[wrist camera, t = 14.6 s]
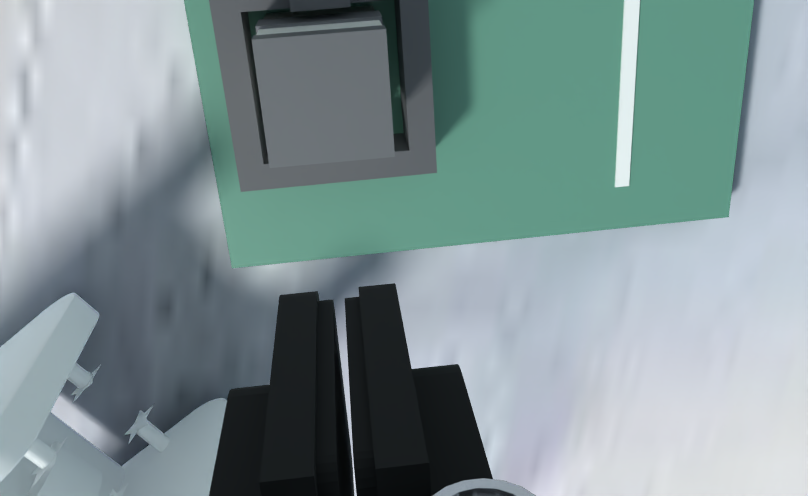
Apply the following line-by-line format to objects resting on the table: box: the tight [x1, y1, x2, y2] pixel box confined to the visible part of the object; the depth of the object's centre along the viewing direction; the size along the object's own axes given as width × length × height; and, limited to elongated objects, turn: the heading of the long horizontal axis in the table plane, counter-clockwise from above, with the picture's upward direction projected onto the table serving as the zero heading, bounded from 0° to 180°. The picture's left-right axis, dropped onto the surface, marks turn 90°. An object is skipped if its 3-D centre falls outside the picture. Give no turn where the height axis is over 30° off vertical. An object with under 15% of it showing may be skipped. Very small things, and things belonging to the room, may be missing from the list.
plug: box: [252, 5, 395, 168], centre depth 27 cm, size 4×4×6 cm
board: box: [184, 0, 754, 268], centre depth 29 cm, size 16×22×5 cm
